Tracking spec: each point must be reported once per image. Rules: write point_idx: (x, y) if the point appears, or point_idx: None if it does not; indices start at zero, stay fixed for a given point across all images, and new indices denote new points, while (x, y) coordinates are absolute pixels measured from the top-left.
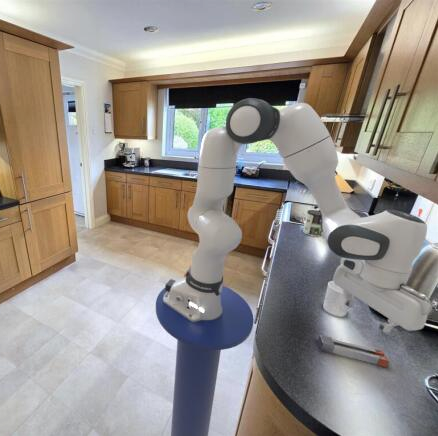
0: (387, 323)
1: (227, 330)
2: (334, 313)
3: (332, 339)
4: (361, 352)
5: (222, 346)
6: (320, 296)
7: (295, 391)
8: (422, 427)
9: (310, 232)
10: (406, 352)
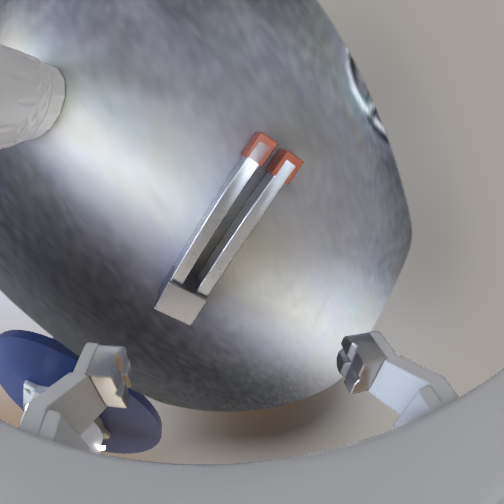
0: (373, 363)
1: (122, 411)
2: (48, 124)
3: (175, 278)
4: (247, 227)
5: (160, 426)
6: None
7: (273, 400)
8: (404, 251)
9: None
10: (264, 21)
